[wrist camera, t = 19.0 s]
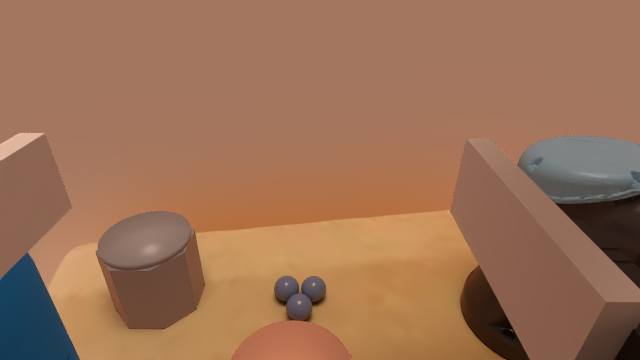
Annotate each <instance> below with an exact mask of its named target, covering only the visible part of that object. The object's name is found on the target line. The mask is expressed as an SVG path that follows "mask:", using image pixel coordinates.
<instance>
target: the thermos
mask: <svg viewBox="0 0 640 360" xmlns="http://www.w3.org/2000/svg"><path fill="white" fill-rule="evenodd" d="M0 360H80V359H79V357H78V355H77V352H76V350H75V348H74V346H73V344H72V342H71V340H70V338H69V335H68V334H67V331H66V329H65V327H64V325H63V323H62V321H61V318H60V316H59V314H58V312H57V310H56V308H55V306H54V304H53V301H52V299H51V297H50V295H49V293H48V291H47V289H46V287H45V284H44V282H43V280H42V278H41V276H40V274H39V272H38V270H37V267H36V265H35V263H34V261H33V259H32V258H31V257H30V255H29V254H28V252H27V253H26V254H25V255H24V256H23V257H22V258H21V259H20V260H19V261H18V262H17V263H16V264H15V265H14V266H13V267H12V268H11V269H10V270H9V271H8V272H7V273H6V274H5V275H4V276H3V277H2V278H1V279H0Z"/></svg>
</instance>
